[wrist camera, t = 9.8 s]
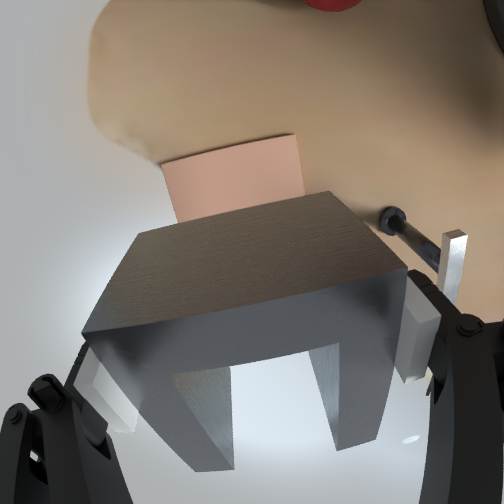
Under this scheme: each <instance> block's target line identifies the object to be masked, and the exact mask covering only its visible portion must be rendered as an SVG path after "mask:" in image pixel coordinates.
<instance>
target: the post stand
mask: <svg viewBox="0 0 504 504" xmlns="http://www.w3.org/2000/svg"><path fill="white" fill-rule="evenodd" d="M379 225H380V228H381V229H382V231H383V232H385V233H386V234H387V235H390V236H394V235H397V236H398V237H399V238H400V239H401V240H402V241H404V242H405V243H406V244H407V245H408V246H409V247H410V248H411V249H412V250H413V251H414V252H415V253H417V254H418V255H419V256H420V257H421V258H422V259H423V260H424V261H425V262H426V263H427V264H428V265H429V266H430V267H431V268H432V269H433V270H434V271H435V272H436V273H437V274H438V278H437V285H436V286H437V287H438V288H439V290H440V291H441V292H442V293H443V294H444V295H445V296H446V297H447V298H448V299H449V300H450V301H451V303H452V304H453V305H455V302H456V298H457V293H458V288H459V283H460V278H461V273H462V267H463V261H464V255H465V248H466V241H467V234H465V233H464V232H462V231H461V230H460V229H457V230H454V231H450V232H446V233H443V236H442V246H441V249H440V248H439V247H438V246H436V245H435V244H434V243H433V242H432V241H430V240H429V239H428V238H427V237H425V236H424V235H423V234H422V233H420V232H419V231H418V230H417V229H415V228H414V227H413V226H412V225H410V224H409V223H408V222H406V215H405V213H404V212H403V211H402V210H401V209H399V208H397V207H389V208H387V209H386V210H385V211H384V212H383V213H382V214H381V216H380V220H379Z"/></svg>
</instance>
